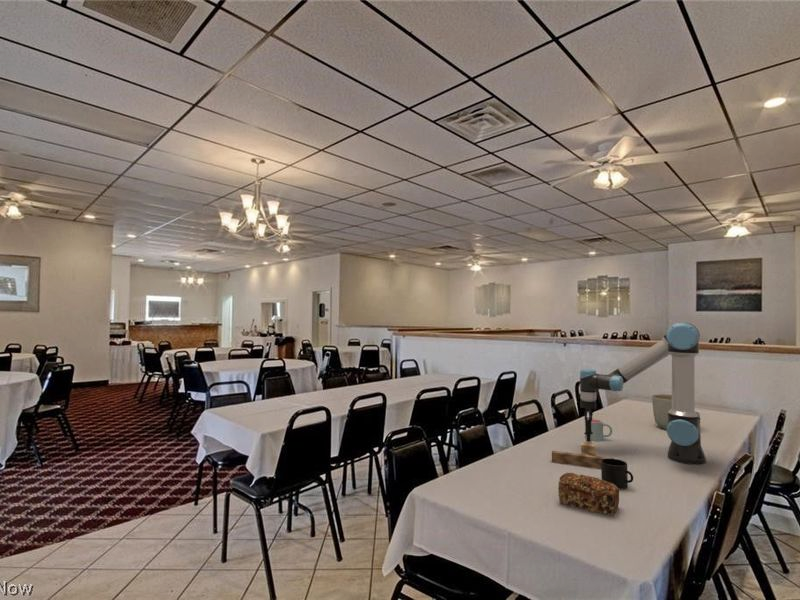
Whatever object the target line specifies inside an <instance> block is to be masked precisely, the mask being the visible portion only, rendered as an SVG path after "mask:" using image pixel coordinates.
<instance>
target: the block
mask: <svg viewBox="0 0 800 600" xmlns="http://www.w3.org/2000/svg"><path fill="white" fill-rule="evenodd" d="M580 443H581V444H580V454H584V455H586V454H587V455H592V456H596V443H595V442H592V443H588V442H586V441H581V442H580Z"/></svg>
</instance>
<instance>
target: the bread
mask: <svg viewBox="0 0 800 600" xmlns="http://www.w3.org/2000/svg"><path fill="white" fill-rule="evenodd" d="M557 489H558V491H557V492H558V499H559V503H561V504H562V505H565V504H567V505H569V506H572V507H574V508H577V509H581V510H585V511H589V512H593V513H599V514H600V513H601V514H605V515H607V516H615V514H616V512H617V510H618V508H619V502H620V489H619V488H618V487H616V486H615V485H614V483H610V482H606V481H603V480H602V478H601V479H600V477H599V478H598V477H595V476H590V475H584V474H576V473H574V472H565V473H563V474H562V475H561V476H560V477H559V481H558V487H557Z"/></svg>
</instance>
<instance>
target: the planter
mask: <svg viewBox="0 0 800 600" xmlns="http://www.w3.org/2000/svg"><path fill="white" fill-rule="evenodd" d="M651 400H652V401H651V402H652V412H653V419H654V422H655V424H656V425H657V426H658V427H659V428H660V429H663V430H666V428H667V425H668V411H669V410H670V409H672V394H663V393H662V394H661V393H660V394H653V395H652V396H651Z"/></svg>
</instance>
